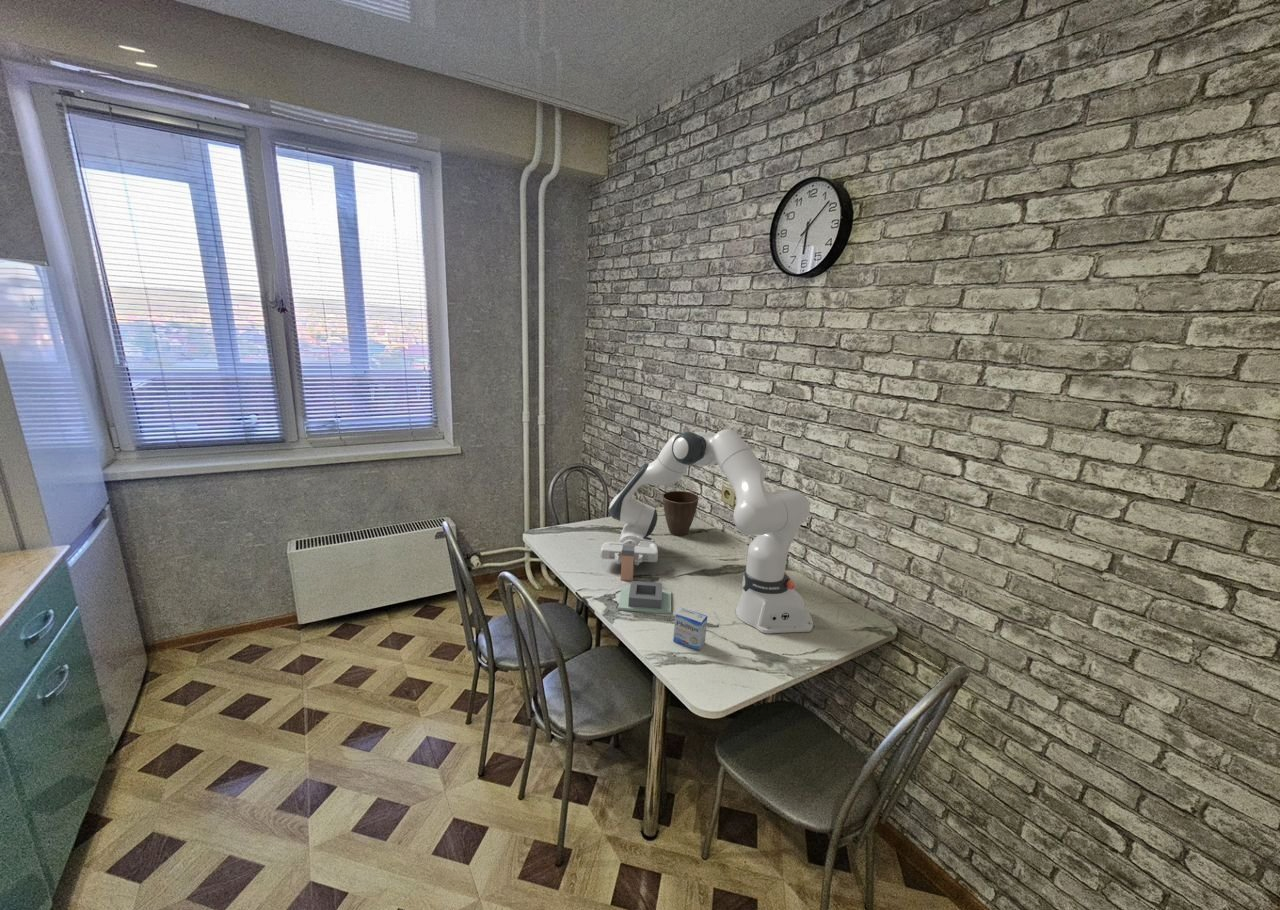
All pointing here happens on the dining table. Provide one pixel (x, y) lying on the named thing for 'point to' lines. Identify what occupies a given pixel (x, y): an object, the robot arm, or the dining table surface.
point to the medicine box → (690, 628)
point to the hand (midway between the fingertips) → (627, 562)
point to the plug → (627, 562)
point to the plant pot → (679, 511)
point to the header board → (664, 602)
